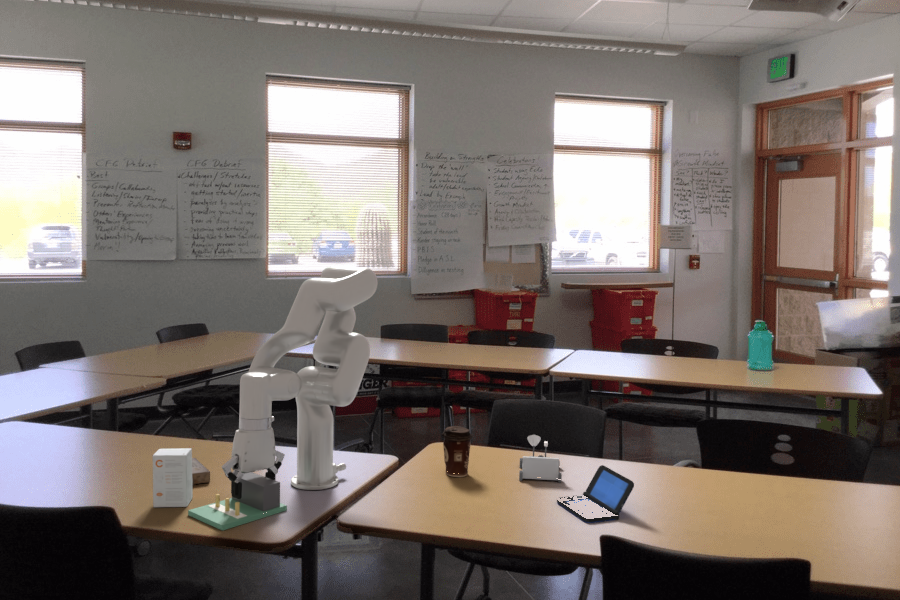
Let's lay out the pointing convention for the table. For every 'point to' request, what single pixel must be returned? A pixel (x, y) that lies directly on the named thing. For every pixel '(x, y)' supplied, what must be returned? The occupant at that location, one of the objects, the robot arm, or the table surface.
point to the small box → (172, 477)
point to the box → (199, 473)
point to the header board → (230, 513)
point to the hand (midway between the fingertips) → (253, 493)
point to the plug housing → (259, 492)
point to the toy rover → (539, 464)
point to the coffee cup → (456, 450)
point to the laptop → (605, 493)
